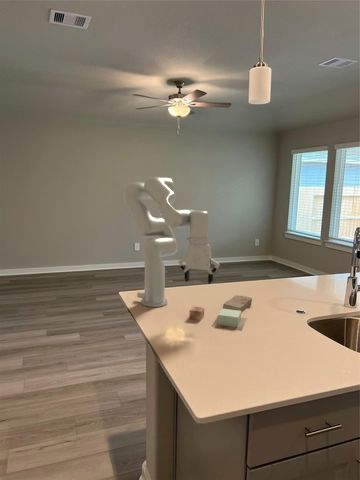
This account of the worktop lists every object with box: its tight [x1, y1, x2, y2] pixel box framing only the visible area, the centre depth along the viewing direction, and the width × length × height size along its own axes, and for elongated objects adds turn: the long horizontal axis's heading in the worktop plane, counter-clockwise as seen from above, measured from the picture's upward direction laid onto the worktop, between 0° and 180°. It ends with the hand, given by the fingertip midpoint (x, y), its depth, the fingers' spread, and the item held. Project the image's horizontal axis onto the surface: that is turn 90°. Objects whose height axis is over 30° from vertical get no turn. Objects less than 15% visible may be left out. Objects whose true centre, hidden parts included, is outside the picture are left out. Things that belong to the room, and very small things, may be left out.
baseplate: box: [211, 316, 247, 332], centre depth 148 cm, size 12×14×1 cm
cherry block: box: [188, 306, 205, 321], centre depth 152 cm, size 5×5×5 cm
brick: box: [222, 294, 253, 313], centre depth 167 cm, size 17×8×5 cm, turn 149°
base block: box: [217, 308, 242, 327], centre depth 148 cm, size 8×8×4 cm
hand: (198, 282), depth 150 cm, fingers open, 9 cm apart
